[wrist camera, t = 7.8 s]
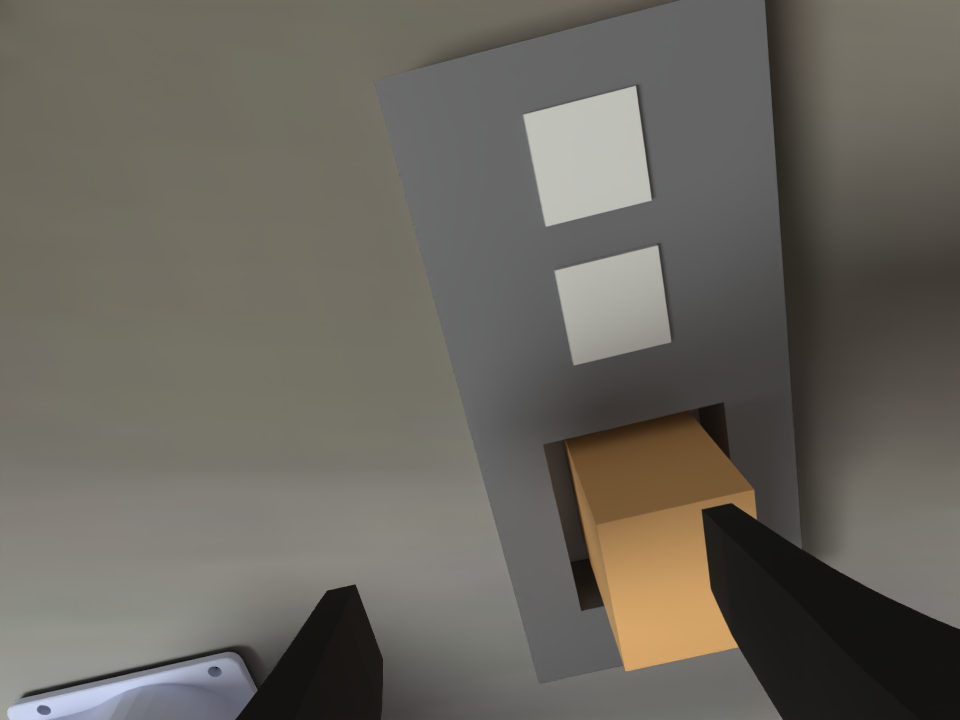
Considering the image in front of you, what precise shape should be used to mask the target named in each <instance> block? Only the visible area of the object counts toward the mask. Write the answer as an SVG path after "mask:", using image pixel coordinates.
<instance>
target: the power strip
mask: <svg viewBox="0 0 960 720" xmlns="http://www.w3.org/2000/svg"><path fill="white" fill-rule="evenodd" d="M374 83H375V87H376V90H377V94H378V98H379V101H380V105H381V109H382V112H383V116H384V120H385V123H386V127H387V130H388V134H389V138H390V141H391V145H392V149H393V152H394V156H395V160H396V163H397V167H398V170H399V174H400V178H401V181H402V185H403V189H404V192H405V196H406V200H407V203H408V207H409V210H410V214H411V218H412V221H413V225H414V229H415V232H416V236H417V240H418V243H419V247H420V250H421V254H422V258H423V261H424V265H425V269H426V272H427V276H428V280H429V283H430V287H431V290H432V294H433V298H434V301H435V305H436V309H437V312H438V316H439V320H440V323H441V327H442V330H443V334H444V338H445V341H446V345H447V349H448V352H449V356H450V360H451V363H452V367H453V371H454V374H455V378H456V381H457V385H458V389H459V392H460V396H461V400H462V403H463V407H464V411H465V414H466V418H467V421H468V425H469V429H470V432H471V436H472V440H473V443H474V447H475V451H476V454H477V458H478V461H479V465H480V469H481V472H482V476H483V480H484V483H485V487H486V491H487V494H488V498H489V501H490V505H491V509H492V512H493V516H494V520H495V523H496V527H497V531H498V534H499V538H500V541H501V545H502V549H503V552H504V556H505V560H506V563H507V567H508V571H509V574H510V578H511V581H512V585H513V589H514V592H515V596H516V600H517V603H518V607H519V611H520V614H521V618H522V621H523V625H524V629H525V632H526V636H527V640H528V643H529V647H530V651H531V654H532V658H533V662H534V665H535V669H536V672H537V676H538V680H539V683H545V682H549V681H554V680H559V679H563V678H568V677H572V676H577V675H581V674H586V673H590V672H595V671H600V670H604V669H609V668H613V667H618V666H622V665H623V662H622V659H621V656H620V653H619V650H618V646H617V643H616V640H615V637H614V634H613V631H612V628H611V625H610V622H609V619H608V615H607V612H606V609H605V606H604V603H603V600H602V597H601V594H600V591H599V588H598V584H597V581H596V578H595V575H594V572H593V569H592V566H591V563H590V560H589V557H588V553H587V550H586V547H585V544H584V541H583V537H582V533H581V528H580V523H579V518H578V514H577V509H576V504H575V499H574V495H573V490H572V485H571V480H570V476H569V471H568V466H567V461H566V457H565V452H564V447H563V442H562V440H565V439H569V438H573V437H577V436H582V435H586V434H590V433H594V432H599V431H603V430H607V429H611V428H616V427H620V426H624V425H628V424H633V423H637V422H641V421H645V420H650V419H654V418H658V417H663V416H667V415H671V414H675V413H680V412H684V411H689V412H690V413H691V414H692V416H693V417H694V418H695V419H696V420H697V422H698V423H699V424H700V425H701V426H702V428H703V429H704V430H705V431H706V432H707V434H708V435H709V436H710V437H711V438H712V440H713V441H714V442H715V443H716V444H717V446H718V447H719V448H720V449H721V450H722V451H723V453H724V454H725V455H726V456H727V457H728V459H729V460H730V461H731V462H732V463H733V465H734V466H735V467H736V468H737V469H738V471H739V472H740V473H741V474H742V475H743V477H744V478H745V479H746V480H747V481H748V483H749V484H750V485H751V486H752V487H753V489H754V493H755V504H756V515H757V520H758V521H759V522H761V523H762V524H764V525H765V526H767V527H768V528H770V529H771V530H773V531H774V532H776V533H777V534H779V535H780V536H782V537H783V538H785V539H786V540H788V541H789V542H791V543H793V544H794V545H796V546H797V547H799V548H800V549H802V540H801V525H800V511H799V496H798V481H797V466H796V452H795V437H794V422H793V408H792V393H791V378H790V364H789V349H788V334H787V320H786V305H785V290H784V276H783V261H782V246H781V232H780V217H779V202H778V188H777V173H776V158H775V144H774V129H773V114H772V100H771V85H770V70H769V56H768V41H767V26H766V12H765V0H679V1H675V2H671V3H667V4H664V5H660V6H656V7H652V8H648V9H645V10H641V11H637V12H633V13H629V14H625V15H622V16H618V17H614V18H610V19H606V20H602V21H599V22H595V23H591V24H587V25H583V26H579V27H576V28H572V29H568V30H564V31H560V32H556V33H553V34H549V35H545V36H541V37H537V38H533V39H530V40H526V41H522V42H518V43H514V44H510V45H507V46H503V47H499V48H495V49H491V50H487V51H484V52H480V53H476V54H472V55H468V56H464V57H461V58H457V59H453V60H449V61H445V62H441V63H438V64H434V65H430V66H426V67H422V68H419V69H415V70H411V71H407V72H403V73H399V74H396V75H392V76H388V77H384V78H380V79H376V80H374Z"/></svg>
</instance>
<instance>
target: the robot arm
mask: <svg viewBox="0 0 960 720" xmlns="http://www.w3.org/2000/svg"><path fill="white" fill-rule="evenodd" d="M701 510H702V519H703V527H704V536H705V544H706V553H707V561H708V570H709V578H710V587H711V591H712V593H713V595H714V598H715V600H716V602H717V604H718V607H719V609H720V611H721V613H722V616H723V618H724V620H725V622H726V624H727V626H728V628H729V630H730V632H731V635H732V637H733V638H734V640H735V642H736V643H737V645H738V647H739V648H740V650H741V652H742V653H743V655H744V657H745V658H746V660H747V662H748V663H749V665H750V667H751V668H752V670H753V671H754V673H755V675H756V676H757V678H758V680H759V681H760V683H761V685H762V686H763V688H764V689H765V691H766V693H767V694H768V696H769V698H770V699H771V701H772V703H773V704H774V706H775V707H776V709H777V711H778V712H779V714H780V716H781V717H782V719H783V720H960V629H957V628H955V627H952V626H950V625H947V624H945V623H943V622H940V621H938V620H936V619H933V618H931V617H929V616H926V615H924V614H922V613H920V612H918V611H916V610H913V609H911V608H909V607H907V606H905V605H903V604H901V603H898V602H896V601H894V600H892V599H890V598H888V597H886V596H884V595H882V594H880V593H878V592H876V591H874V590H872V589H870V588H868V587H866V586H864V585H862V584H861V583H859V582H857V581H855V580H853V579H851V578H850V577H848V576H846V575H844V574H842V573H840V572H839V571H837V570H835V569H833V568H832V567H830V566H828V565H827V564H825V563H823V562H822V561H820V560H818V559H817V558H815V557H813V556H812V555H810V554H809V553H807V552H805V551H804V550H802V549H800V548H799V547H797V546H796V545H794V544H793V543H791V542H789V541H788V540H786V539H785V538H783V537H782V536H780V535H779V534H777V533H776V532H774V531H773V530H771V529H770V528H768V527H767V526H765V525H764V524H762V523H761V522H759V521H758V520H756V519H755V518H753V517H752V516H750V515H749V514H747V513H746V512H744V511H743V510H741V509H740V508H738V507H737V506H735V505H734V504H732V503H729V504H724V505H720V506H715V507H710V508H706V509H701ZM214 667H218V668H220V669H217V668H214ZM382 690H383V658H382V655H381V653H380V650H379V647H378V644H377V642H376V639H375V636H374V633H373V631H372V628H371V625H370V623H369V620H368V617H367V614H366V612H365V609H364V606H363V603H362V601H361V598H360V595H359V593H358V590H357V587H356V585H351V586H347V587H342V588H337V589H333V590H328V591H327V592H326V593H325V594H324V596H323V597H322V599H321V600H320V602H319V603H318V605H317V606H316V607H315V609H314V610H313V612H312V613H311V615H310V616H309V618H308V619H307V621H306V622H305V624H304V625H303V627H302V628H301V630H300V631H299V633H298V634H297V636H296V637H295V639H294V640H293V642H292V643H291V645H290V646H289V648H288V649H287V650H286V652H285V653H284V655H283V656H282V658H281V659H280V660H279V662H278V663H277V665H276V666H275V668H274V669H273V670H272V672H271V673H270V675H269V676H268V677H267V679H266V680H265V681H264V683H263V684H262V685H261V687H260V688H259V689H258V690H257V688H256V686H255V684H254V682H253V680H252V678H251V676H250V674H249V672H248V670H247V668H246V666H245V664H244V662H243V660H242V658H241V657H240V656H239V655H238V654H236V653H233V652H224V653H220V654H216V655H211V656H207V657H202V658H198V659H193V660H189V661H185V662H180V663H176V664H171V665H167V666H162V667H158V668H154V669H149V670H145V671H140V672H136V673H132V674H127V675H123V676H118V677H114V678H109V679H105V680H101V681H96V682H92V683H87V684H83V685H78V686H74V687H70V688H65V689H61V690H56V691H52V692H47V693H43V694H39V695H34V696H30V697H25V698H21V699H18V700H15V701H14V702H13V704H12V705H11V706H10V708H9V709H8V711H7V714H8V717H9V719H10V720H381V712H382Z"/></svg>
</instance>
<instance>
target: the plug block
mask: <svg viewBox="0 0 960 720" xmlns="http://www.w3.org/2000/svg"><path fill="white" fill-rule="evenodd" d="M562 442H563V447H564V452H565V457H566V461H567V466H568V471H569V476H570V480H571V485H572V490H573V495H574V499H575V504H576V509H577V514H578V518H579V523H580V528H581V533H582V537H583V541H584V544H585V547H586V550H587V553H588V557H589V560H590V563H591V566H592V569H593V572H594V575H595V578H596V581H597V584H598V588H599V591H600V594H601V597H602V600H603V603H604V606H605V609H606V612H607V615H608V619H609V622H610V625H611V628H612V631H613V634H614V637H615V640H616V643H617V646H618V650H619V653H620V656H621V659H622V662H623V665H624V668H625V671H631V670H635V669H640V668H645V667H649V666H654V665H659V664H663V663H668V662H673V661H677V660H682V659H687V658H691V657H696V656H701V655H705V654H710V653H715V652H719V651H724V650H729V649H733V648H738V645H737V643H736V642H735V640H734V638H733V637H732V635H731V632H730V630H729V628H728V626H727V624H726V622H725V620H724V618H723V616H722V613H721V611H720V609H719V607H718V604H717V602H716V600H715V598H714V595H713V593H712V591H711V587H710V578H709V570H708V561H707V553H706V544H705V536H704V527H703V519H702V510H701V509H706V508H710V507H715V506H720V505H724V504H729V503H732V504H734V505H735V506H737V507H738V508H740V509H741V510H743V511H744V512H746V513H747V514H749V515H750V516H752V517H753V518H755V519H756V520H757V515H756V504H755V493H754V489H753V487H752V486H751V485H750V484H749V483H748V481H747V480H746V479H745V478H744V477H743V475H742V474H741V473H740V472H739V471H738V469H737V468H736V467H735V466H734V465H733V463H732V462H731V461H730V460H729V459H728V457H727V456H726V455H725V454H724V453H723V451H722V450H721V449H720V448H719V447H718V446H717V444H716V443H715V442H714V441H713V440H712V438H711V437H710V436H709V435H708V434H707V432H706V431H705V430H704V429H703V428H702V426H701V425H700V424H699V423H698V422H697V420H696V419H695V418H694V417H693V416H692V414H691V413H690V412H689V411H684V412H680V413H675V414H671V415H667V416H663V417H658V418H654V419H650V420H645V421H641V422H637V423H633V424H628V425H624V426H620V427H616V428H611V429H607V430H603V431H599V432H594V433H590V434H586V435H582V436H577V437H573V438H569V439H565V440H562Z"/></svg>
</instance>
